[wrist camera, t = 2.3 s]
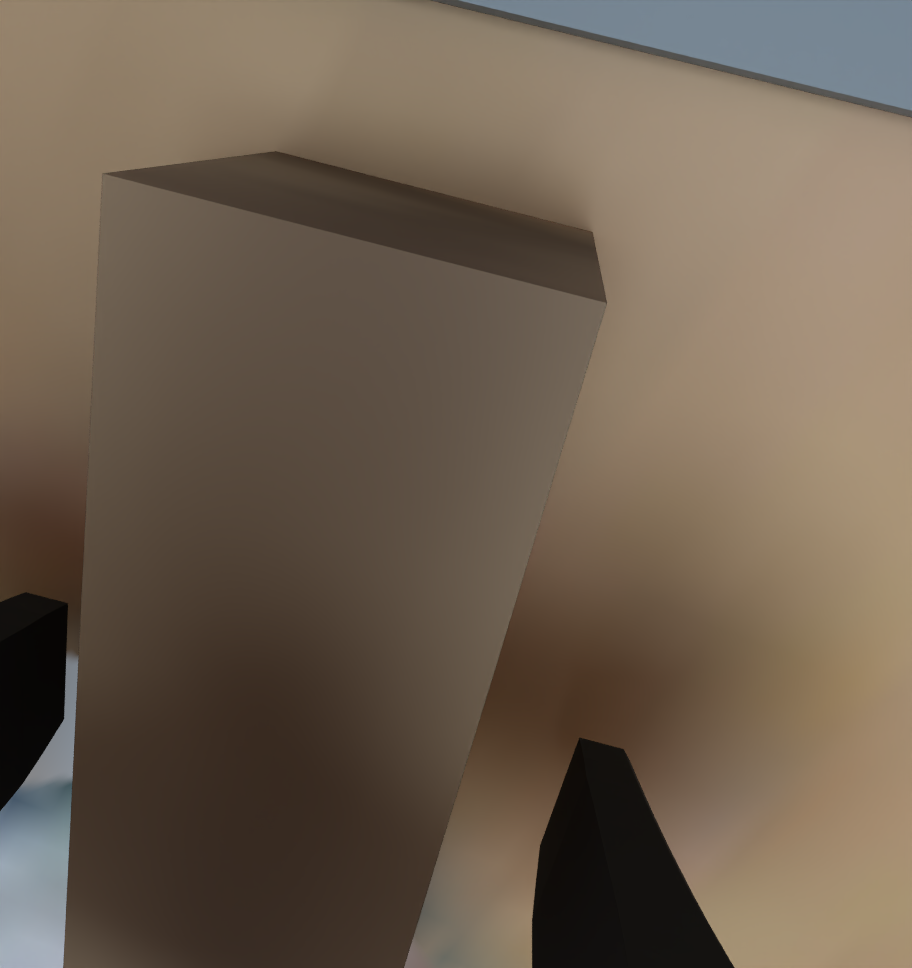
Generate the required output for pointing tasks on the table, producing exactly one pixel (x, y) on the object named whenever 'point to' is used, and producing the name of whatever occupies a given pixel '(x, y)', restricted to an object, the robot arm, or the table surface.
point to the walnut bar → (301, 547)
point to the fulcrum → (751, 39)
